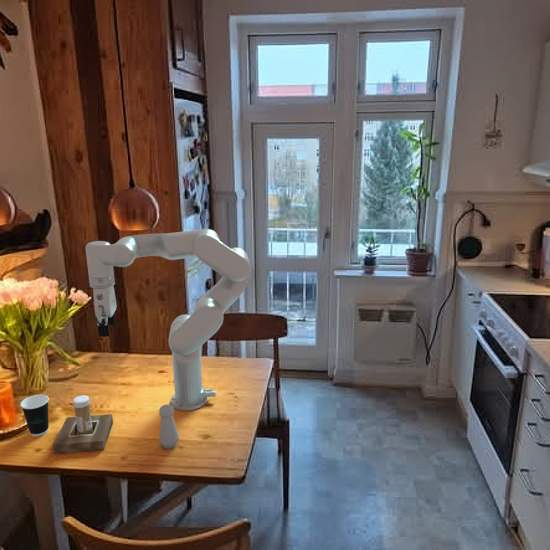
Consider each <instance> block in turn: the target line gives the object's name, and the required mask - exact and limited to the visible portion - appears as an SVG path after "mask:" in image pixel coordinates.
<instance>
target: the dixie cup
mask: <svg viewBox="0 0 550 550" xmlns="http://www.w3.org/2000/svg"><path fill="white" fill-rule="evenodd" d="M49 400H50V398H49V396H48V395H46V394H35V395H31V396H28V397H26V398H24V399H23V400H22V401H21V402H20V404H19V406H20V407H21V409H22V411H23V415H24V419H25V421H26V425H27V428H28V431H29V433H30V434H31V436H32V437H35V438H36V437H37V438H38V437H42V436H44V435H46V434H47V433H48V432H49V427H50V426H49Z"/></svg>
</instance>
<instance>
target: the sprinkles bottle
mask: <svg viewBox="0 0 550 550" xmlns="http://www.w3.org/2000/svg"><path fill="white" fill-rule="evenodd" d="M90 401H91V400H90V397H89V396H88V395H83V394H82V395H78V396H76V397H74V399H73V400H72V405H73V408H74V413H75V415H74V417H76V424H77V430H78V432H77V435H87V434H93V432H94V431H93V429H92V420H91V416H92V414H91V408H90Z"/></svg>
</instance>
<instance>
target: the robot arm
mask: <svg viewBox="0 0 550 550" xmlns="http://www.w3.org/2000/svg"><path fill="white" fill-rule="evenodd" d="M85 256H86V264H87V270H88V273H87V274H88V282H89V287H90V288H92V290H93V291H92V292H93V306H94V313H95V314H94V315H95V317H96V319H97V323H96V324H97V332H98V337H99V338H105V337H109V336H110V335H111V334H110V326H114V325H116V318H115V317H116V316H115V315H116V314H115V311H116V310H117V300H116V293H115V287H114V285H116V281H115V273H114V272H115V271H114V267H119V268H123V267H124V268H125V267H129V266H130V265H132V264H133V262H134V261H135V259H137V258H142V257H151V256H152V257H161V258H164V259H166V260H170V261H175V260H181V259H182V260H183V259H189V258H197V259H198V260H199V261H201V262H202V264H204V265H206V266H207V267H209V268H211V270H213V271H215V272H216V273H218V274H219V275H221V276H222V277H221V278H220V279H219V281H217V282H216V284H215V285H214V286H213V287H212V288H210V289H209V290H208V291H207V292H206V293H205V294H203V295H202V296H201V297H200V298H199V299H198V300H197V301H196V302H195V304H194V308H193V313H192V314H181V315H179V316H177V317H176V318H175V319H174V320H173V321H172V322H171V326H170V330H169V336H168V345H169V348H170V350H171V352H172V353H171V354H172V355H171V356H172V369H173V370H172V371H173V372H172V373H173V383H174V384H173V385H174V394H173V395H172V396H171V398H170V405H172V406H173V407H174V409H176V410H178V411H194V410H198V409H200V408H202V407H203V406H204V405H206V404H207V401H208V398H214V397H217V395H216V390H213V388H206V387H205V386H204V384H203V374H202V371H203V370H202V353H201V352H202V351H201V347H202V346H203V345H204V344H205V343H206V342H208V341H209V339H211V338H212V337H213V336H214V335H215V334H216V333H217V332H218V331H219V330H220V328H221V326H223V322H224V314H225V312H226V311H227V310H228V309H229V308H230V307H231V306H232V305H233V304H234V303H235V302H236V301H237V300H238V299H239V298H240V297H241V295H242V294H243V293H244V291H245V289H246V288H247V286H248V283H249V280H250V274H251V262H250V260H249V259H250V258H249V256H248V253H247V252H246V251H245V250H244V249H243V248H240V247H232V248H230V247H229V246H227V245H226V244H225V243H223V242H222V241H220V237H219V235H218V234H217V232H216V231H215V230H214V229H213V230H212V229H210V228H201V229H193V230H192V229H191V230H185V231H179V232H176V231H175V232H169V233H163V232H161V233H146V234H145V233H144V234H136V235H129V236H124V237H122V238H119V240H118V241H117V242H115V243H113V244H111V243H110V242H109V241H105V240H104V241H103V240H97V241H96V240H95V241H92V242H91V241H90V242H88V243H87V244H86V245H85ZM204 387H205V388H204Z"/></svg>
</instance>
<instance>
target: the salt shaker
mask: <svg viewBox="0 0 550 550" xmlns="http://www.w3.org/2000/svg"><path fill="white" fill-rule="evenodd" d="M158 414H159V416H160V426H159V435H158V438H159V439H158V442H159V443H160V445H161V446H162V449H165V450H171V449H173V448H176V445H177V443H178V441H179V433H178V429H177V426H176V422H175V419H174V414H175V408H174V407H173V406H172V405H171V404H163V405H161V406H160V407H159V410H158Z"/></svg>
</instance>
